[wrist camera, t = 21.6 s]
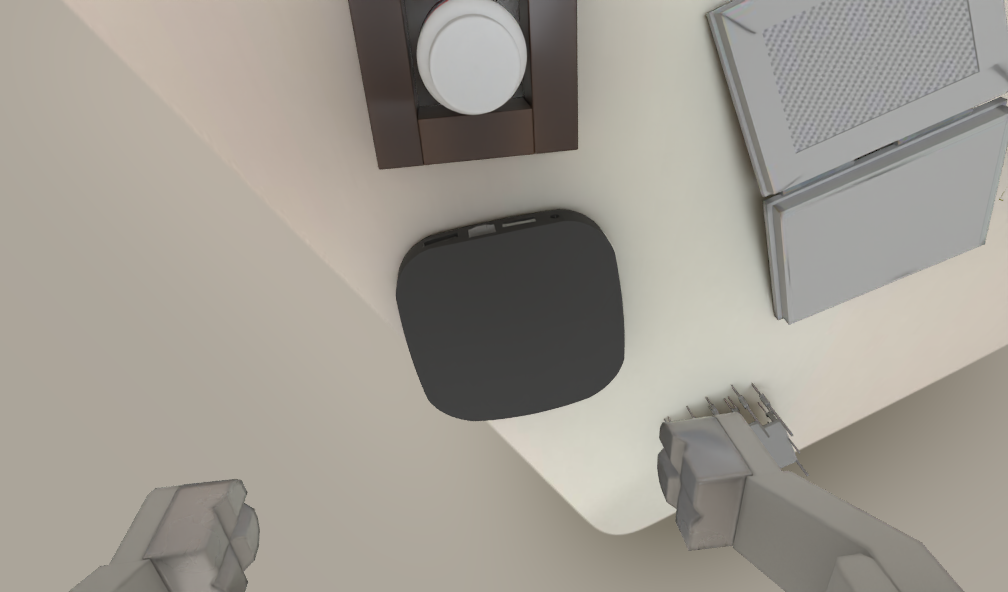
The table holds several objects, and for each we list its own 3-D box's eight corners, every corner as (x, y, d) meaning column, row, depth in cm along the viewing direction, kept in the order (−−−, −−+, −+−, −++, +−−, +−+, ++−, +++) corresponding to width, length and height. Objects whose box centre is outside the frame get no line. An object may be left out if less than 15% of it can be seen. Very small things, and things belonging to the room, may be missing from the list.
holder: (383, 153, 35) (378, 169, 32) (345, -65, 29) (335, -70, 26) (565, 135, 36) (578, 149, 32) (561, -82, 30) (576, -88, 27)
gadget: (972, 235, 42) (1016, 256, 39) (775, 317, 44) (801, 344, 41) (966, -116, 31) (1026, -126, 28) (703, 12, 33) (732, 16, 30)
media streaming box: (435, 409, 45) (435, 436, 42) (383, 240, 38) (379, 260, 35) (620, 371, 45) (631, 396, 42) (603, 195, 38) (615, 212, 35)
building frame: (661, 417, 48) (689, 470, 43) (752, 374, 46) (792, 423, 41) (686, 463, 51) (716, 518, 45) (772, 423, 49) (812, 475, 44)
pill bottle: (453, -31, 31) (459, -33, 23) (531, 31, 32) (561, 48, 25) (401, 57, 32) (391, 82, 25) (478, 111, 34) (491, 150, 27)
